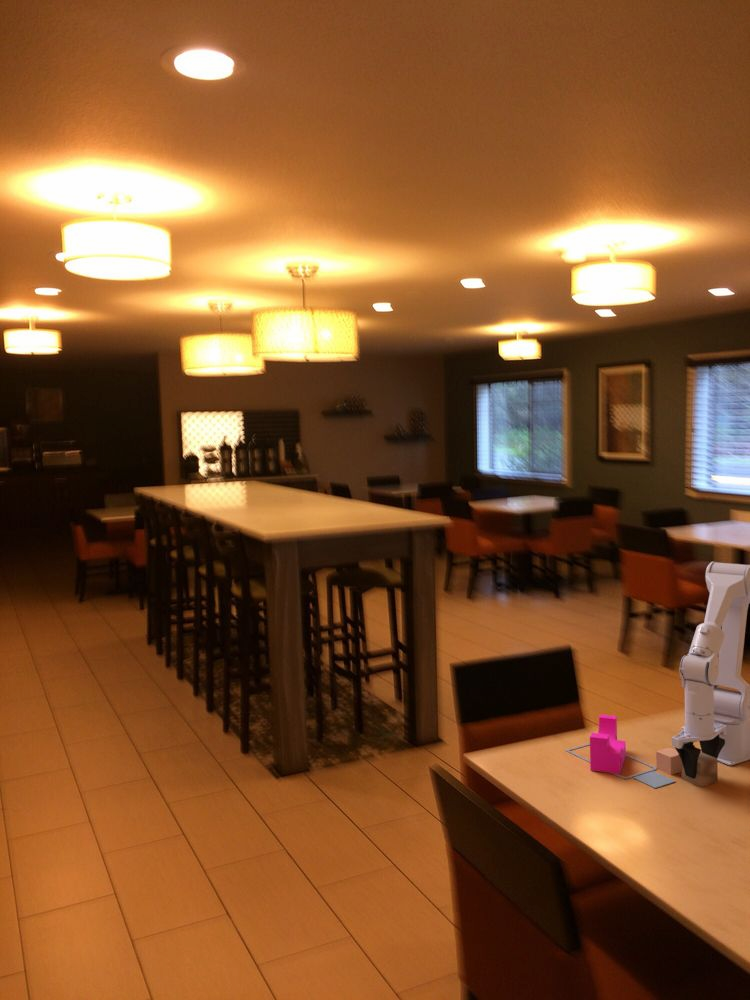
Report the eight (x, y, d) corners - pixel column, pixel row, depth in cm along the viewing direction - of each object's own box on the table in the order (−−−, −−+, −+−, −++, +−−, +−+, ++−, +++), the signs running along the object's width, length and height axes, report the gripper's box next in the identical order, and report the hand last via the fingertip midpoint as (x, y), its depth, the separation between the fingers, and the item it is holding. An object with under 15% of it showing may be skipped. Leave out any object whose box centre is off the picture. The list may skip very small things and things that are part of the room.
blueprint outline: (597, 741, 190) (597, 741, 190) (682, 779, 168) (682, 778, 168) (565, 750, 185) (565, 749, 185) (648, 790, 163) (648, 790, 163)
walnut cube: (698, 773, 171) (697, 750, 170) (717, 781, 166) (717, 758, 166) (681, 778, 168) (681, 755, 168) (701, 787, 164) (701, 763, 164)
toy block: (619, 773, 171) (619, 740, 171) (590, 769, 174) (589, 736, 173) (628, 748, 185) (627, 717, 184) (600, 745, 188) (600, 714, 187)
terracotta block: (669, 764, 176) (669, 747, 175) (683, 771, 172) (683, 753, 172) (656, 768, 174) (656, 751, 174) (670, 775, 170) (670, 757, 170)
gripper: (707, 699, 173) (707, 759, 174) (659, 712, 166) (660, 774, 167) (734, 708, 167) (735, 770, 168) (687, 722, 160) (687, 786, 161)
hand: (699, 773), depth 167 cm, fingers closed on walnut cube, 5 cm apart
